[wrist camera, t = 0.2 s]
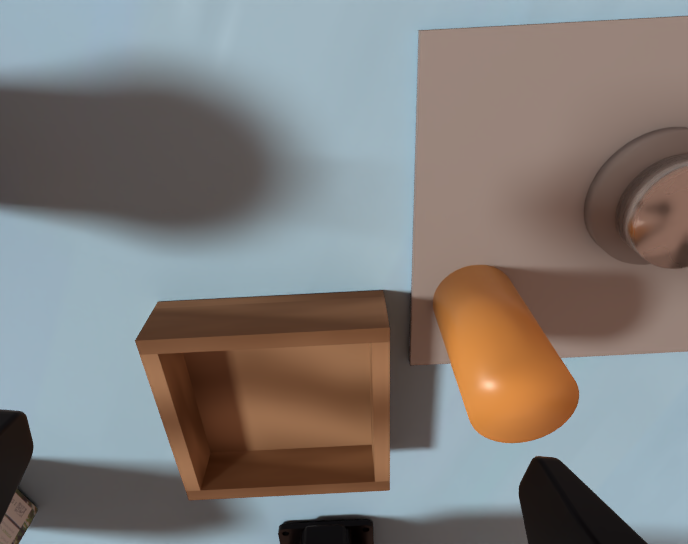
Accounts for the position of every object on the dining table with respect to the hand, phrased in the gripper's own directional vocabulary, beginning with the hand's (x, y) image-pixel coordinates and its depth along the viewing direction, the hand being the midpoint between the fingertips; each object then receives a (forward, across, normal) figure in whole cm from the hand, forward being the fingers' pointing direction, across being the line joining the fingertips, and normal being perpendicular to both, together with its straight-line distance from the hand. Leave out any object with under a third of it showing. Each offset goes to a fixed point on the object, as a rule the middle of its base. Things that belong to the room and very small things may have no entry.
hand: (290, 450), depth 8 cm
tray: (+14, 0, +11) cm, 18 cm away
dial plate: (+14, -16, -1) cm, 21 cm away
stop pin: (+14, -8, +4) cm, 17 cm away
